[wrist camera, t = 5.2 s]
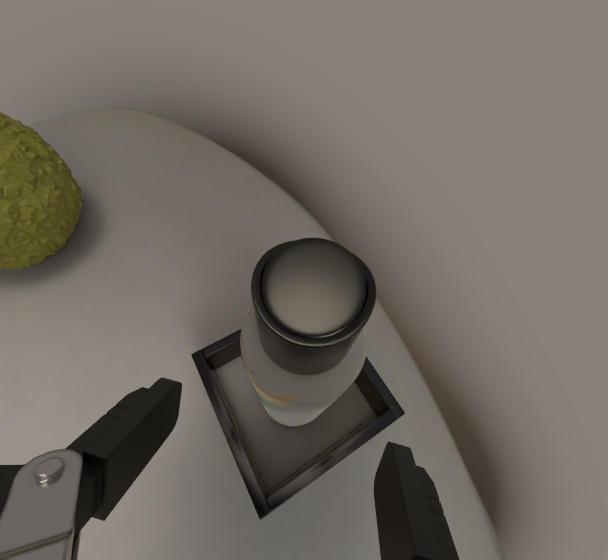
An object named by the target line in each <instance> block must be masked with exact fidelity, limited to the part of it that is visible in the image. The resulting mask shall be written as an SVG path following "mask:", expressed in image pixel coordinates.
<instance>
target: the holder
mask: <svg viewBox="0 0 608 560" xmlns="http://www.w3.org/2000/svg"><path fill="white" fill-rule="evenodd" d="M241 330H242V329H240V330H238V331H236V332H234V333H232V334H231V335H229V336H227V337H225V338H223V339H221V340H219V341H217V342H215V343H213V344H211V345H209V346H207V347H205V348H203V349H202V350H199V351H197V352H195V353H193V354H191V355H192V358H193V360H194V362H195V365H196V367H197V370H198V372H199V374H200V377H201V379H202V382H203V384H204V386H205V389H206V391H207V394H208V396H209V398H210V401H211V403H212V406H213V408H214V410H215V413H216V415H217V418H218V420H219V422H220V425H221V427H222V430H223V432H224V434H225V437H226V439H227V442H228V444H229V447H230V449H231V451H232V454H233V456H234V459H235V461H236V463H237V466H238V468H239V471H240V473H241V475H242V478H243V480H244V483H245V485H246V487H247V490H248V492H249V495H250V497H251V499H252V502H253V504H254V507H255V509H256V511H257V514H258V516H259V519H260V520H261V519H262V518H264V517H265V516H267V515H268V514H269V513H271V511H273V510H275V509H276V508H277V507H279V506H280V505H281V504H283V503H284V502H286V501H287V500H288V499H290V498H291V497H292V496H294V495H295V494H296V493H298V492H299V491H300V490H302V489H303V488H305V487H306V486H307V485H309V484H310V483H311V482H313V481H314V480H315V479H317V478H318V477H319V476H321V475H322V474H324V473H325V472H326V471H328V470H329V469H330V468H332V467H333V466H334V465H336V464H337V463H338V462H340V461H341V460H343V459H344V458H345V457H347V456H348V455H349V454H351V453H352V452H353V451H355V450H356V449H357V448H359V447H360V446H362V445H363V444H364V443H366V442H367V441H368V440H370V439H371V438H372V437H374V436H375V435H376V434H378V433H379V432H381V431H382V430H383V429H385V428H386V427H387V426H389V425H390V424H391V423H393V422H394V421H396V420H397V419H398V418H400V417H401V416H402V415H404V414H405V412H404V411H403V409H402V408H401V407H400V405H399V404H398V402H397V401H396V399H395V398H394V396H393V395H392V393H391V392H390V391H389V389H388V388H387V386H386V385H385V383H384V382H383V380H382V379H381V378H380V376H379V375H378V373H377V372H376V370H375V369H374V367H373V366H372V364H371V363H370V362H369V360H368V359H367V357H365V361H364V364H363V366H362V369H361V371H360V373H359V375H358V376H357V378H356V379H355V380H354V381H355V383H356V384H357V386H358V387H359V389H360V390H361V392H362V393H363V395H364V397H365V398H366V400H367V401H368V403H369V404H370V406H371V407H372V409H373V410H374V412H375V414H376V415H375V416H373V417H372V418H370V419H369V420H367V421H366V422H365V423H363V424H362V425H360V426H359V427H358V428H356V429H355V430H353V431H352V432H351V433H349V434H348V435H346V436H345V437H344V438H342V439H341V440H339V441H338V442H336V443H335V444H334V445H332V446H331V447H329V448H328V449H327V450H325V451H324V452H322V453H321V454H320V455H318V456H317V457H315V458H314V459H313V460H311V461H310V462H308V463H307V464H305V465H304V466H303V467H301V468H300V469H298V470H297V471H296V472H294V473H293V474H291V475H290V476H289V477H287V478H286V479H284V480H283V481H282V482H280V483H279V484H277V485H276V486H274V487H273V488H272V489H270V490H269V491H268V489H267V486H266V484H265V482H264V480H263V477H262V475H261V473H260V471H259V468H258V466H257V464H256V462H255V459H254V457H253V455H252V453H251V450H250V448H249V446H248V444H247V441H246V439H245V437H244V434H243V432H242V430H241V428H240V425H239V423H238V421H237V419H236V416H235V414H234V412H233V410H232V407H231V405H230V403H229V401H228V398H227V396H226V394H225V392H224V389H223V387H222V385H221V383H220V380H219V378H218V376H217V373H216V371H215V369H217V368H218V367H220V366H222V365H224V364H226V363H228V362H230V361H231V360H233V359H235V358H237V357H239V356H241V355H242V354H241V347H240V337H241Z"/></svg>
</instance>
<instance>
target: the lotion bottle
mask: <svg viewBox="0 0 608 560" xmlns="http://www.w3.org/2000/svg"><path fill="white" fill-rule="evenodd" d="M251 292H252V300H253V305H252V306H251V308H250V309H249V311H248V313H247V315H246V317H245V319H244V322H243V325H242V330H241V337H240V347H241V354H242V358H243V362H244V364H245V367H246V370H247V372H248V375H249V377H250V379H251V381H252V383H253V385H254V387H255V389H256V392H257V394H258V396H259V398H260V400H261V402H262V404H263V406H264V408H265V410H266V412H267V413H268V414H269V416H270V417H271V418H272V419H274V420H275V421H276V422H278V423H280V424H282V425H285V426H290V427H297V426H302V425H305V424H307V423H309V422H311V421H313V420H314V419H315V418H316V417H318V416H319V415H320V414H321V413H322V412H323V411H324V410H325V409H326V408H327V407H329V406H330V405H331V404H332V403H333V402H334V401H335V400H336V399H337V398H338V397H340V396H341V395H342V394H343V393H344V392H345V391H346V390H347V389H348V388H349V387H350V386H351V384H352V383H353V382H354V380H355V379H356V378H357V376H358V375H359V373H360V371H361V369H362V366H363V364H364V361H365V357H366V351H367V335H366V329H365V324H366V322H367V321H368V319H369V317H370V315H371V313H372V311H373V308H374V305H375V300H376V285H375V281H374V278H373V276H372V273H371V271H370V270H369V268H368V267H367V266H366V264H365V263H364V262H362V260H361V259H359V258H358V257H357V256H356V255H354V254H353V253H351V252H350V251H348V250H347V249H346V248H344V247H343V246H341V245H339V244H337V243H335V242H333V241H330V240H327V239H322V238H304V239H299V240H295V241H289V242H285V243H282V244H280V245H277V246H275V247H273V248H272V249H270V250H269V251H268V252H266V253H265V254H264V255H263V256H262V257H261V259H260V260H259V262H258V263H257V265H256V267H255V269H254V272H253V276H252V283H251Z"/></svg>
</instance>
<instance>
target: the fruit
mask: <svg viewBox="0 0 608 560" xmlns="http://www.w3.org/2000/svg"><path fill="white" fill-rule="evenodd" d="M82 202H83V201H82V198H81V189H80V187H78V185H77V183H76V181H75V180H74V178H73V177H72V175H71V171H70V169H69V168H68V167H67V165H66V163H65V162H64V160H63V159H62V158H61V157H60V156H59V154H58V153H57V152H56V151H55V150H54V149H53V148H51V146H50V145H49V144H47V143H46V142H45V141H44V140H43V139H42V138H41V136H39V135H38V133H37V132H35V131H34V129H32V128H30V127H28V126H24V125H22V123H21V122H20V121H16V120H13V119H12V118H10V117H8V116H7V115H4V114H3V113H1V112H0V268H5V269H8V270H11V269H21V268H26V267H28V266H30V265H32V264H39V263H40V262H42V261H43V260H44V259H45V257H46V256H49V255H55V252H56V251H57V250H58V249H60V248H62V247H64V245H65V243H66V240H67V239H68V238H69V237H70V236H71V232H72V231H74V226H75V224H77V222H78V221H79V214H80V212H81V209H82V204H81V203H82Z"/></svg>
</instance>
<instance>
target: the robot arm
mask: <svg viewBox="0 0 608 560" xmlns="http://www.w3.org/2000/svg"><path fill="white" fill-rule="evenodd" d="M181 391H182V384H181V383H180V382H177V381H173V380H170V379H166V378H160V379H159V380H158V381H156V382H155V383H154V384H153V385H152V386H151V387H150V388H149V389H147V388H144V387H142V388H140V389H138V390H136V391H134V392H131V393H129V394H128V395H126V396H125V397H124V398H123V399H122V400H121V401H120V402H118V403H117V404H116V406H114V407H113V408H111V409H110V410H109V411H108V412H107V414H106V415H103V416H102V417H101V418H100V419H99V420H98V421H97V422H95V423H94V424H93V425H92V426H91V427H90V428H89V429H87V430H86V431H85V432H84V433H83V434H82V435H81V436H79V437H78V438H77V439H76V440H75V441H74V442H73V443H71V444H70V445H69V446H68V447H67V448H65V449H59V450H54V451H50V452H47V453H44V454H42V455H39V456H37V457H36V458H34V459H32V460H31V461H29V462H28V463H27V464H26V465H0V560H78V552H79V544H80V536H81V529H82V528H83V527H84V526H85V524H86V523H87V522H88V521H89V519H90V518H91V517H94V518H97V519H100V520H103V521H104V520H105V519H106V518H107V516H108V515H109V514H110V512H111V511H112V510H113V509H114V507H115V506H116V505H117V503H118V502H119V501H120V499H121V498H122V497H123V495H124V494H125V493H126V491H127V490H128V489H129V487H130V486H131V485H132V483H133V482H134V481H135V480H136V478H137V477H138V476H139V474H140V473H141V472H142V470H143V469H144V468H145V466H146V465H147V464H148V462H149V461H150V460H151V458H152V457H153V456H154V455H155V453H156V452H157V451H158V449H159V448H160V447H161V445H162V444H163V443H164V441H165V440H166V439H167V437H168V436H169V435H170V433H171V432H172V430H173V429H174V427H175V424H176V422H177V419H178V414H179V406H180V398H181ZM374 499H375V508H376V517H377V526H378V536H379V545H380V554H381V560H459V557H458V554H457V551H456V548H455V545H454V542H453V539H452V536H451V533H450V530H449V527H448V524H447V521H446V518H445V516H444V515H443V509H442V506H441V503H440V502H439V497H438V494H437V491H436V488H435V485H434V482H433V481H432V479H431V478H430V477H429V475H428V474H427V472H426V471H425V469H424V468H422V467H419V466H416V465H415V461H414V458H413V454H412V451H411V449H410V448H409V447H406V446H402V445H399V444H395V443H392V442H388V443H387V445H386V447H385V450H384V453H383V455H382V458H381V461H380V464H379V466H378V469H377V472H376V475H375V480H374Z"/></svg>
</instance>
